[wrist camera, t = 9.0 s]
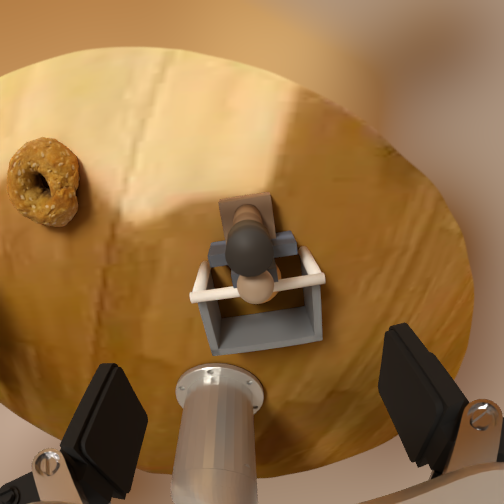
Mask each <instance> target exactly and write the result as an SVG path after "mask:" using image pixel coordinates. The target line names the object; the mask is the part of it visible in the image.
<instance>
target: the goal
mask: <svg viewBox="0 0 504 504" xmlns="http://www.w3.org/2000/svg"><path fill="white" fill-rule="evenodd" d="M298 254H299V256H300V259H301V270H302V276H298V277H292V278H286V279H279V280H278V282H274V290H273V292H276V291H282V290H289V289H295V288H301V287H303V292H304V305H305V306H302V307H296V308H290V309H284V310H277V311H271V312H264V313H257V314H250V315H243V316H235V317H228V318H221V314H220V309H219V305H218V301H217V300H220V299H228V298H235V297H241V296H240V295H239V293H238V290H237V288H233V286H232V287H225V288H218V289H215V288H214V284H213V279H212V275H211V267H210V264H209V262H208V261H203V262H202V263H201V265H200V268H199V271H198V275H197V278H196V281H195V284H194V288H193V291H192V292H190V301H191V303H197V302H198V306H199V310H200V313H201V317H202V320H203V324H204V328H205V331H206V335H207V338H208V342H209V345H210V349H211V352H212V355H213V356H217V355H226V354H235V353H243V352H251V351H259V350H266V349H273V348H279V347H286V346H292V345H298V344H304V343H310V342H315V341H321V340H322V313H321V293H320V284H325V275H324V273H322V272H321V270H320V269H319V267H318V265H317V263H316V262H315V260H314V258H313V256H312V254H311V253H310V251H309V249H308V248H307V247H306V246H301V247H300V248H299V249H298Z"/></svg>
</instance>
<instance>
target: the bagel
mask: <svg viewBox="0 0 504 504" xmlns="http://www.w3.org/2000/svg"><path fill="white" fill-rule="evenodd" d="M78 168H79V164H78V160H77V157H76V155H74V154H73V153H72V152H71V151H70V150H69V149H68V148H67V147H66V146H64V145H63V144H62V143H60V142H58V141H57V140H56V139H52V138H45V137H41V138H38V139H36V140H33V141H30V142H27V143H25V144H24V145H23V146H22V147H21V148H20V149H19V150H18V151H17V152H16V153H15V155H14V156H13V157H12V159H11V160H10V162H9V169H8V172H7V175H8V176H7V193H8V195H9V199H10V201H11V203H12V204H13V205H14V206H15V208H16V209H17V210H18V211H19V212H20V214H21V215H23V216H25V217H27V218H29V219H31V220H32V221H34V222H36V223H40V224H43V225H46V226H53V227H62V226H65V225H66V224H67V223H68V222H69V221H70V220H72V218H73V217H74V215H75V214H76V212H77V211H78V202H77V197H76V196H75V195H76V190H77V188H78V185H79V183H78V181H79V180H80V177H79V173H78ZM40 174H42V175H43V176H44V177H45V179H46V181H47V183H48V185H49V187H50V189H48V188H45V187H44V185H43V182H42V180H41V176H40Z"/></svg>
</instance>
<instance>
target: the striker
mask: <svg viewBox="0 0 504 504" xmlns="http://www.w3.org/2000/svg"><path fill="white" fill-rule="evenodd" d="M219 209H220V214H221V220H222V225H223V230H224V236H225V241H219V242H213V243H211V246H210V249H209V253H208V260H209V264H210V267H217V266H224V265H228V266H229V267H230V269H231V278H232V283H233V288H237V290H238V293H239V295H240V296H241V298H242V299H243V300H245V301H246V302H248V303H251V304H260V303H263V302H265V301H266V300H268V299H269V298H270V296H271V295H272V293H273V290H274V282H278V274H277V267H276V263H275V260H274V258H277V257H284V256H290V255H297V254H298V252H297V242H296V240H295V238H294V236H293V235H292V233H291V231H284V232H278V233H276V232H275V225H274V217H273V210H272V203H271V195H270V193H269V192H264V193H258V194H251V195H244V196H238V197H232V198H226V199H220V200H219Z"/></svg>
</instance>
